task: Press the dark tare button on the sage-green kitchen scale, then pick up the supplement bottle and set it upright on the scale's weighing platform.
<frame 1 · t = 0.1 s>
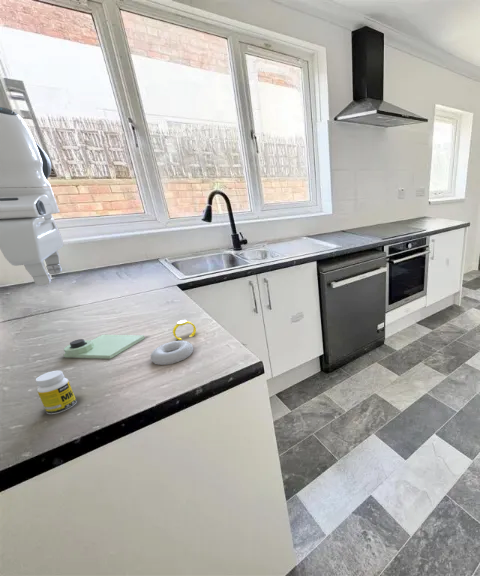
hand: (50, 278, 60), 29 cm above the countertop, tool pointing down, fingers open, 8 cm apart
tare button: (77, 343, 88), point 3 cm above the countertop, slide at 0.1 cm
scale: (107, 348, 92), on the countertop
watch: (186, 339, 97), on the countertop
donut: (174, 358, 87), on the countertop
supplement bottle: (63, 408, 68), on the countertop
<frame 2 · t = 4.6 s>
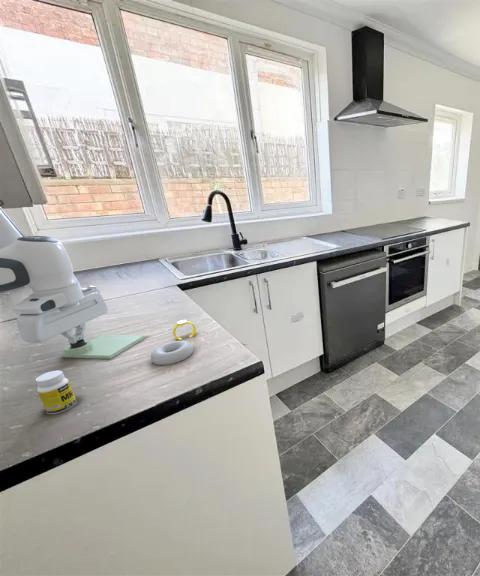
hand: (77, 341, 88), 4 cm above the countertop, tool pointing down, fingers closed, pressing on tare button
tare button: (77, 343, 88), point 3 cm above the countertop, slide at 0.1 cm, touching gripper
everything else where it was.
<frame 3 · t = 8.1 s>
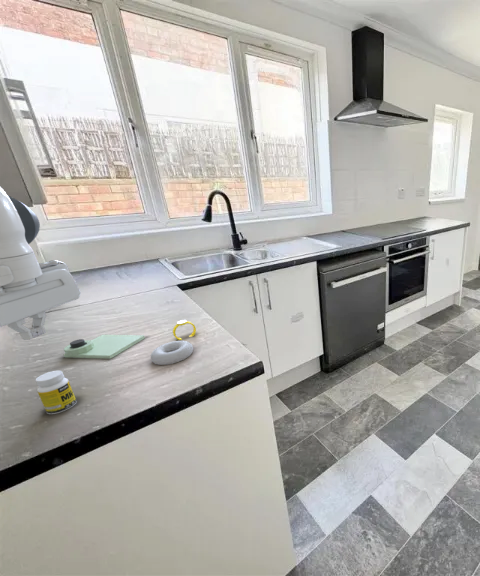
hand: (34, 336, 63), 17 cm above the countertop, tool pointing down, fingers closed
tare button: (77, 343, 88), point 3 cm above the countertop, slide at 0.1 cm
everything else where it was.
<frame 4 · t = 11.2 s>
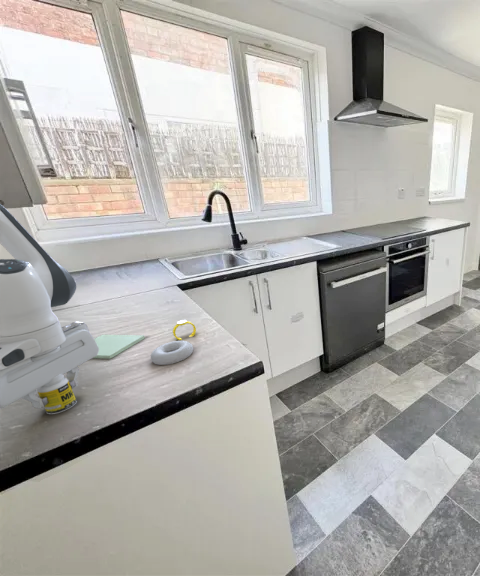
hand: (57, 396, 67), 3 cm above the countertop, tool pointing down, fingers closed on supplement bottle, 5 cm apart
supplement bottle: (63, 408, 68), on the countertop, touching gripper
everything else where it was.
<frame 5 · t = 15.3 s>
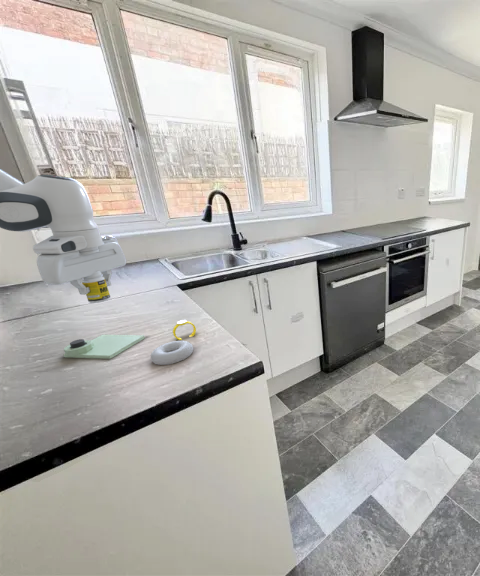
hand: (96, 290, 86), 19 cm above the countertop, tool pointing down, fingers closed on supplement bottle, 5 cm apart
supplement bottle: (100, 301, 87), point 15 cm above the countertop, touching gripper
everything else where it was.
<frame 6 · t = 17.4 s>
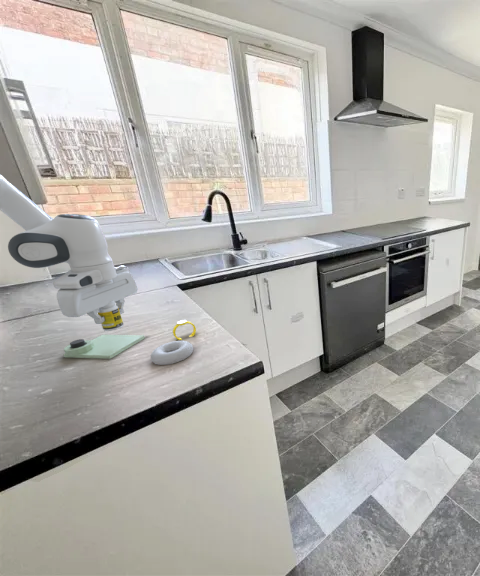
hand: (110, 318, 91), 9 cm above the countertop, tool pointing down, fingers closed on supplement bottle, 5 cm apart
supplement bottle: (114, 328, 92), point 6 cm above the countertop, touching gripper
everything else where it was.
when the fingers open (4 cm above the countertop, at t = 19.3 s): supplement bottle stays where it is, resting on scale.
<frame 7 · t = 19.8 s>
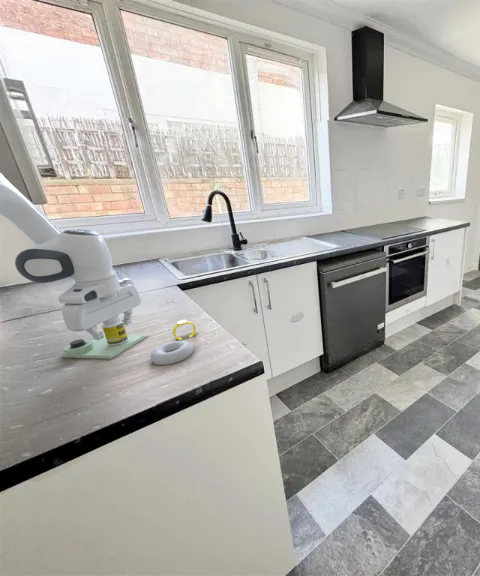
hand: (114, 331, 92), 5 cm above the countertop, tool pointing down, fingers open, 8 cm apart
supplement bottle: (118, 342, 93), point 1 cm above the countertop, touching scale
everything else where it was.
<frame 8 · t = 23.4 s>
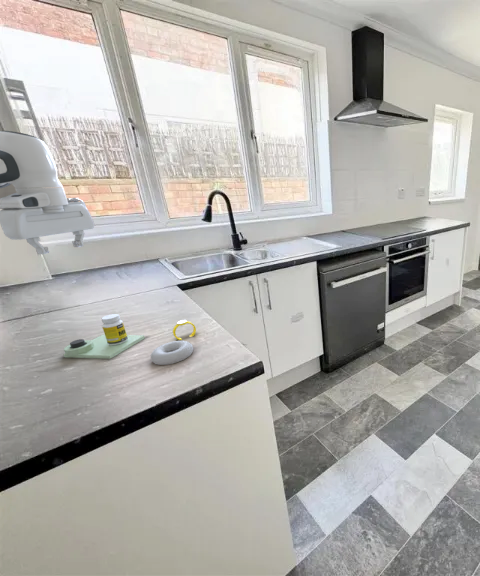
hand: (62, 250, 87), 29 cm above the countertop, tool pointing down, fingers open, 8 cm apart
nothing on the countertop moved.
at the end: tare button pushed in 0.9 cm at the most during the clip, back to where it started at the end; supplement bottle inside the target area on the scale (3.0 cm from its centre), point 1.2 cm above the scale's base; supplement bottle touching scale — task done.
